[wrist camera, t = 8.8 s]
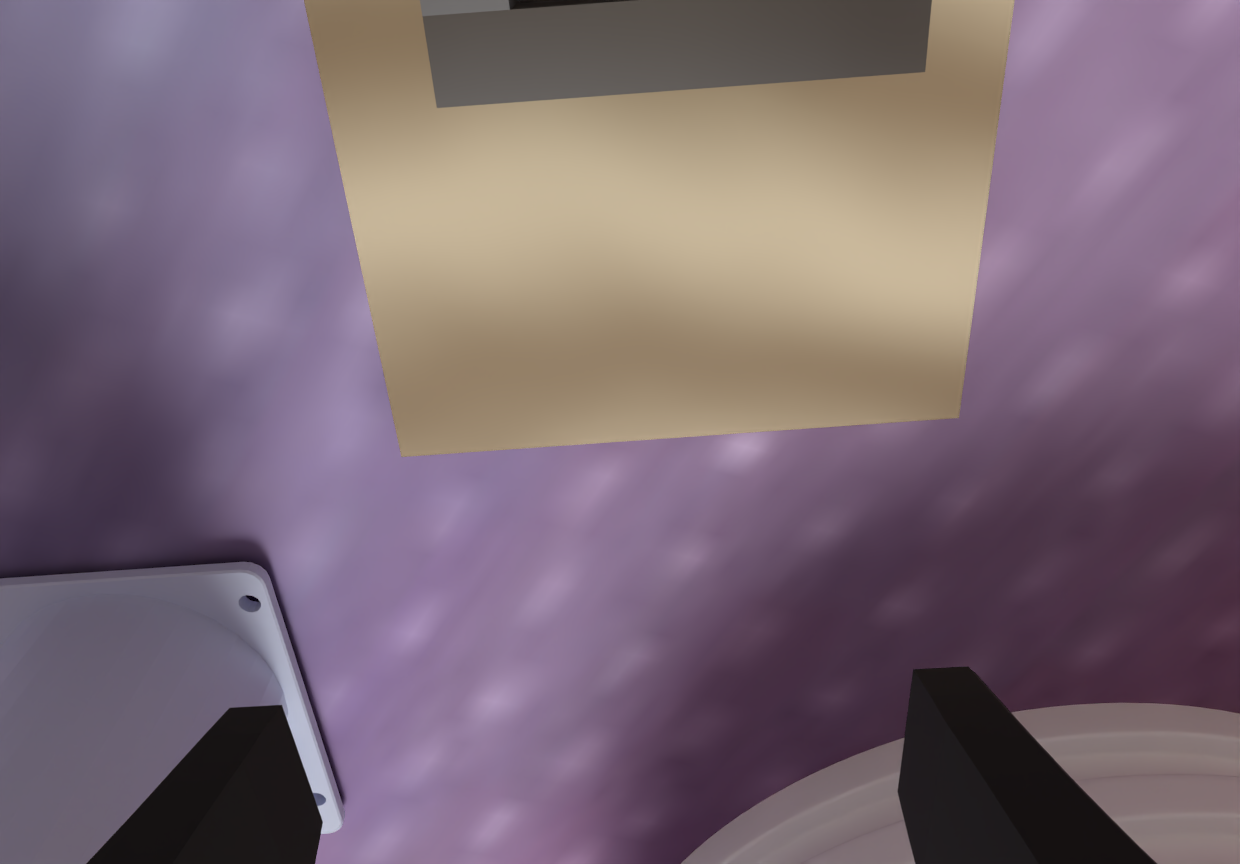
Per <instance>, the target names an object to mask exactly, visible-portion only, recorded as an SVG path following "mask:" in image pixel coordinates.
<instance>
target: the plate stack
mask: <svg viewBox="0 0 1240 864" xmlns="http://www.w3.org/2000/svg"><path fill="white" fill-rule="evenodd" d="M1011 713H1012V714H1013V715H1014V716H1015V718H1016V719H1017V720H1018V721H1019V722H1020V723H1021V724H1022V725H1023V726H1024V727H1025V729H1026V730H1027V731H1028V732H1029V733H1030V734H1031V735H1032V736H1033V737H1034V738H1035V739H1036V741H1037V742H1038V743H1039V744H1040V745H1041V746H1042V747H1043V748H1044V749H1045V750H1046V751H1047V752H1048V753H1049V754H1050V756H1051V757H1052V758H1053V759H1054V760H1055V761H1056V762H1057V763H1058V764H1059V765H1060V766H1061V767H1062V768H1063V769H1064V770H1065V772H1066V773H1067V774H1068V775H1069V776H1070V777H1071V778H1072V779H1073V780H1074V781H1075V782H1076V783H1077V784H1078V785H1079V786H1080V787H1081V788H1082V789H1083V790H1084V791H1085V792H1086V793H1087V794H1088V795H1089V796H1090V797H1091V798H1092V799H1093V800H1094V801H1095V802H1096V803H1097V804H1098V805H1099V806H1100V807H1101V808H1102V810H1103V811H1104V812H1105V813H1106V814H1107V815H1108V816H1109V817H1110V818H1111V819H1112V820H1113V821H1114V822H1115V823H1116V824H1117V825H1118V826H1119V827H1120V828H1121V829H1122V830H1123V831H1124V832H1125V833H1126V834H1127V835H1128V836H1129V837H1130V838H1131V839H1132V840H1133V841H1134V842H1135V843H1136V844H1137V845H1138V846H1139V847H1140V848H1141V849H1142V850H1144V851H1145V852H1146V853H1147V854H1148V855H1149V856H1150V857H1151V858H1152V859H1153V860H1154V861H1155V862H1156V863H1157V864H1240V714H1239V713H1233V712H1228V711H1222V710H1216V709H1209V708H1202V707H1194V706H1183V705H1173V704H1155V703H1097V704H1078V705H1066V706H1055V707H1046V708H1038V709H1030V710H1023V711H1017V712H1011ZM903 745H904V738H902V739H899V740H896V741H893V742H890V743H887V744H884V745H881V746H878V747H875V748H873V749H870V750H867V751H865V752H862V753H859V754H857V755H854V756H852V757H849V758H847V759H845V760H842V761H840V762H837V763H835V764H833V765H831V766H828V767H826V768H824V769H822V770H820V771H817V772H815V773H813V774H811V775H809V776H807V777H805V778H803V779H801V780H799V781H797V782H795V783H793V784H791V785H790V786H788V787H786V788H784V789H782V790H780V791H779V792H777V793H775V794H773V795H772V796H770V797H768V798H767V799H765V800H763V801H761V802H760V803H758V804H757V805H755V806H753V807H752V808H750V809H749V810H747V811H746V812H744V813H743V814H741V815H740V816H738V817H737V818H735V819H734V820H733V821H731V822H730V823H728V824H727V825H726V826H724V827H723V828H722V829H720V830H719V831H718V832H716V833H715V834H714V835H713V836H711V837H710V838H709V839H707V840H706V841H705V842H704V843H703V844H702V845H700V846H699V847H698V848H697V849H696V850H695V851H694V852H692V853H691V854H690V855H689V856H688V857H687V858H686V859H685V860H684V861H683V862H682V863H681V864H915V861H914V857H913V853H912V849H911V845H910V842H909V837H908V833H907V829H906V825H905V821H904V817H903V813H902V809H901V804H900V800H899V796H898V784H899V776H900V768H901V761H902V753H903Z"/></svg>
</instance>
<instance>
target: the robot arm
mask: <svg viewBox="0 0 1240 864" xmlns="http://www.w3.org/2000/svg"><path fill="white" fill-rule="evenodd" d="M245 595H250V596H254V597H256V598H257V599H258V600H259V602H256V601H251V600H250V599H248V598H247V597H246V596H245ZM319 793H320V794H319ZM898 796H899V800H900V804H901V809H902V813H903V817H904V821H905V825H906V829H907V833H908V837H909V842H910V845H911V849H912V853H913V857H914V861H915V864H1157V863H1156V862H1155V861H1154V860H1153V859H1152V858H1151V857H1150V856H1149V855H1148V854H1147V853H1146V852H1145V851H1144V850H1142V849H1141V848H1140V847H1139V846H1138V845H1137V844H1136V843H1135V842H1134V841H1133V840H1132V839H1131V838H1130V837H1129V836H1128V835H1127V834H1126V833H1125V832H1124V831H1123V830H1122V829H1121V828H1120V827H1119V826H1118V825H1117V824H1116V823H1115V822H1114V821H1113V820H1112V819H1111V818H1110V817H1109V816H1108V815H1107V814H1106V813H1105V812H1104V811H1103V810H1102V808H1101V807H1100V806H1099V805H1098V804H1097V803H1096V802H1095V801H1094V800H1093V799H1092V798H1091V797H1090V796H1089V795H1088V794H1087V793H1086V792H1085V791H1084V790H1083V789H1082V788H1081V787H1080V786H1079V785H1078V784H1077V783H1076V782H1075V781H1074V780H1073V779H1072V778H1071V777H1070V776H1069V775H1068V774H1067V773H1066V772H1065V770H1064V769H1063V768H1062V767H1061V766H1060V765H1059V764H1058V763H1057V762H1056V761H1055V760H1054V759H1053V758H1052V757H1051V756H1050V754H1049V753H1048V752H1047V751H1046V750H1045V749H1044V748H1043V747H1042V746H1041V745H1040V744H1039V743H1038V742H1037V741H1036V739H1035V738H1034V737H1033V736H1032V735H1031V734H1030V733H1029V732H1028V731H1027V730H1026V729H1025V727H1024V726H1023V725H1022V724H1021V723H1020V722H1019V721H1018V720H1017V719H1016V718H1015V716H1014V715H1013V714H1012V713H1011V712H1010V711H1009V710H1008V709H1007V708H1006V706H1005V705H1004V704H1003V703H1002V702H1001V701H1000V700H999V699H998V698H997V696H996V695H995V694H994V693H993V692H992V691H991V690H990V689H989V688H988V686H987V685H986V684H985V683H984V682H983V681H982V680H981V679H980V678H979V676H978V675H977V674H976V673H975V672H973V671H972V670H971V669H970V668H969V667H950V668H932V669H915V670H913V676H912V684H911V692H910V699H909V707H908V715H907V722H906V730H905V738H904V745H903V753H902V761H901V768H900V776H899V784H898ZM344 818H345V810H344V807H343V804H342V801H341V798H340V795H339V792H338V788H337V785H336V782H335V779H334V776H333V773H332V770H331V767H330V763H329V760H328V757H327V754H326V751H325V748H324V745H323V742H322V739H321V735H320V732H319V729H318V726H317V723H316V720H315V717H314V714H313V711H312V707H311V704H310V701H309V698H308V695H307V692H306V689H305V686H304V682H303V679H302V676H301V673H300V670H299V667H298V664H297V661H296V658H295V654H294V651H293V648H292V645H291V642H290V639H289V636H288V633H287V629H286V626H285V623H284V620H283V617H282V614H281V611H280V608H279V605H278V601H277V598H276V595H275V592H274V589H273V586H272V583H271V580H270V577H269V575H268V573H267V572H266V570H265V569H263V568H262V567H261V566H260V565H257V564H254V563H252V562H233V563H218V564H204V565H189V566H175V567H160V568H146V569H131V570H117V571H102V572H88V573H73V574H59V575H44V576H30V577H15V578H1V579H0V864H315V860H316V855H317V850H318V845H319V840H320V835H321V834H327V833H332V832H335V831H337V830H339V829H340V828H341V826H342V825H343V821H344Z"/></svg>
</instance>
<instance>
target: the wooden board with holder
mask: <svg viewBox="0 0 1240 864" xmlns="http://www.w3.org/2000/svg"><path fill="white" fill-rule="evenodd" d="M304 3H305V8H306V12H307V17H308V22H309V26H310V31H311V36H312V40H313V45H314V50H315V54H316V59H317V64H318V68H319V73H320V78H321V82H322V87H323V92H324V96H325V101H326V106H327V110H328V115H329V120H330V125H331V129H332V134H333V139H334V143H335V148H336V153H337V157H338V162H339V167H340V171H341V176H342V181H343V185H344V190H345V195H346V199H347V204H348V209H349V213H350V218H351V223H352V227H353V232H354V237H355V241H356V246H357V251H358V255H359V260H360V265H361V270H362V274H363V279H364V284H365V288H366V293H367V298H368V302H369V307H370V312H371V316H372V321H373V326H374V330H375V335H376V340H377V344H378V349H379V354H380V358H381V363H382V368H383V372H384V377H385V382H386V386H387V391H388V396H389V401H390V405H391V410H392V415H393V419H394V424H395V429H396V433H397V438H398V443H399V447H400V452H401V457H407V456H421V455H435V454H450V453H464V452H478V451H493V450H507V449H521V448H535V447H550V446H564V445H578V444H593V443H607V442H621V441H635V440H650V439H664V438H678V437H693V436H707V435H721V434H736V433H750V432H764V431H778V430H793V429H807V428H821V427H836V426H850V425H864V424H878V423H893V422H907V421H921V420H936V419H950V418H959V413H960V405H961V398H962V390H963V383H964V375H965V368H966V360H967V353H968V345H969V338H970V330H971V323H972V315H973V308H974V300H975V293H976V285H977V278H978V270H979V263H980V255H981V248H982V240H983V233H984V225H985V218H986V210H987V203H988V195H989V188H990V180H991V173H992V165H993V158H994V150H995V143H996V135H997V128H998V120H999V113H1000V105H1001V97H1002V90H1003V82H1004V75H1005V67H1006V60H1007V52H1008V45H1009V37H1010V30H1011V22H1012V15H1013V7H1014V0H304Z"/></svg>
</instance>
